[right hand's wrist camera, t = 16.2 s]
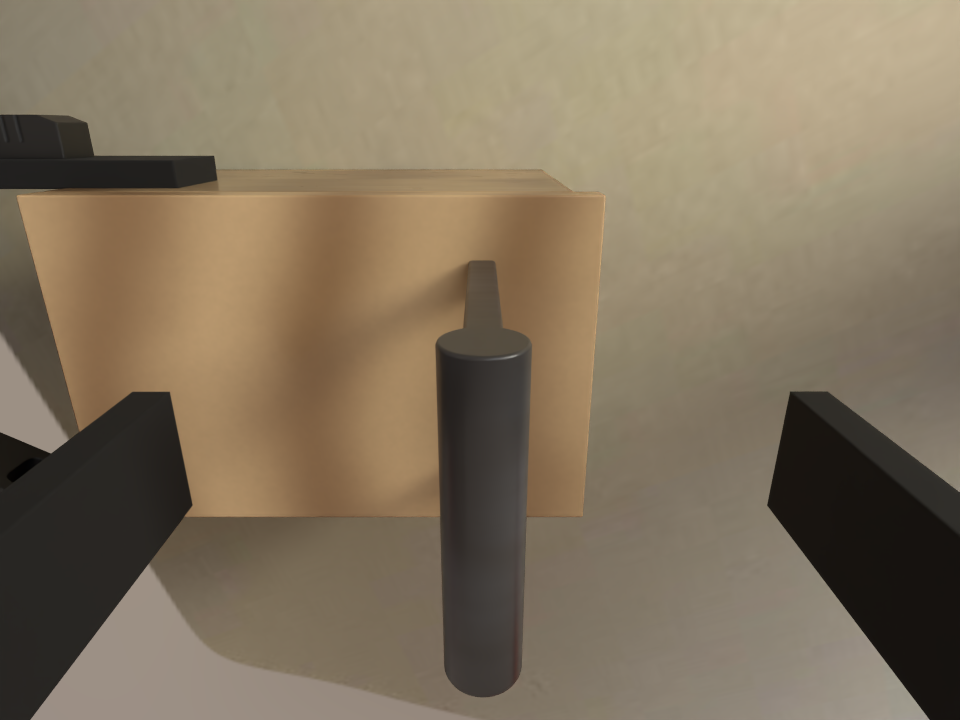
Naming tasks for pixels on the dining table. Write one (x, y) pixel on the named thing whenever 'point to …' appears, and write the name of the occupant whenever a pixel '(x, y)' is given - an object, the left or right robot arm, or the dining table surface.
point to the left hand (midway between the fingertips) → (223, 335)
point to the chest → (364, 181)
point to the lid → (349, 362)
